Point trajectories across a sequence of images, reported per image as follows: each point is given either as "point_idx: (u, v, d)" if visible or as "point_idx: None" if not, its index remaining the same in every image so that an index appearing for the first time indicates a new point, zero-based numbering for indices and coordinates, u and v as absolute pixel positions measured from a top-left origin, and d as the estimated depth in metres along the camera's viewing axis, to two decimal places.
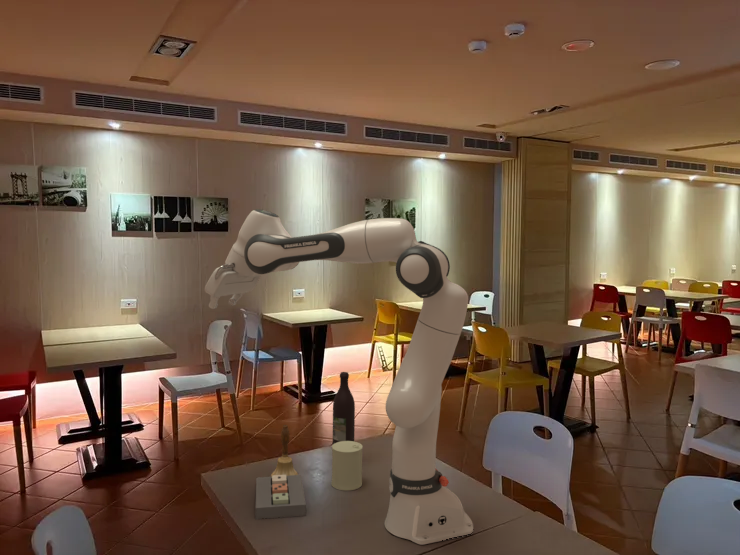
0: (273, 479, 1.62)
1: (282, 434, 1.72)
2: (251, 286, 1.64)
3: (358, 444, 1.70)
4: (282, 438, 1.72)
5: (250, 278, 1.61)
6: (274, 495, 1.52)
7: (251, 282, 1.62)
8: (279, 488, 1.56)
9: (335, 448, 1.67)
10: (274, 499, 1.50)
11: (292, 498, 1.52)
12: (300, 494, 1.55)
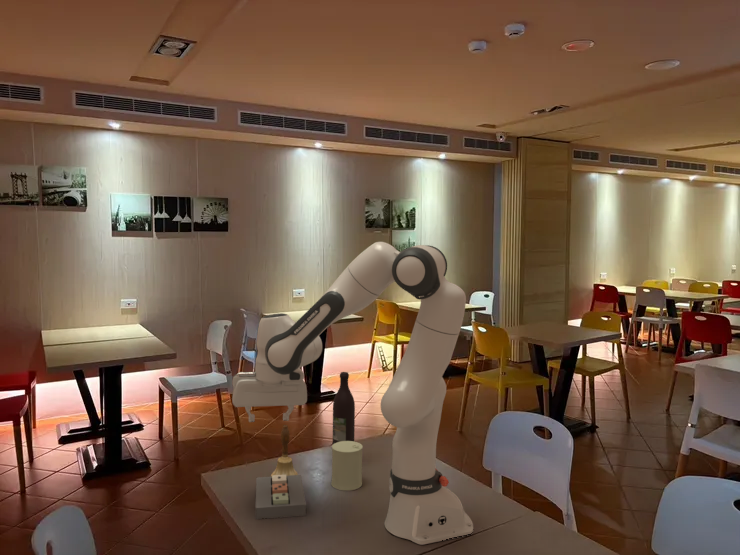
0: (273, 479, 1.62)
1: (282, 434, 1.72)
2: (298, 398, 1.57)
3: (358, 444, 1.70)
4: (282, 438, 1.72)
5: (291, 388, 1.56)
6: (274, 495, 1.52)
7: (294, 392, 1.56)
8: (279, 488, 1.56)
9: (335, 448, 1.67)
10: (274, 499, 1.50)
11: (292, 498, 1.52)
12: (300, 494, 1.55)
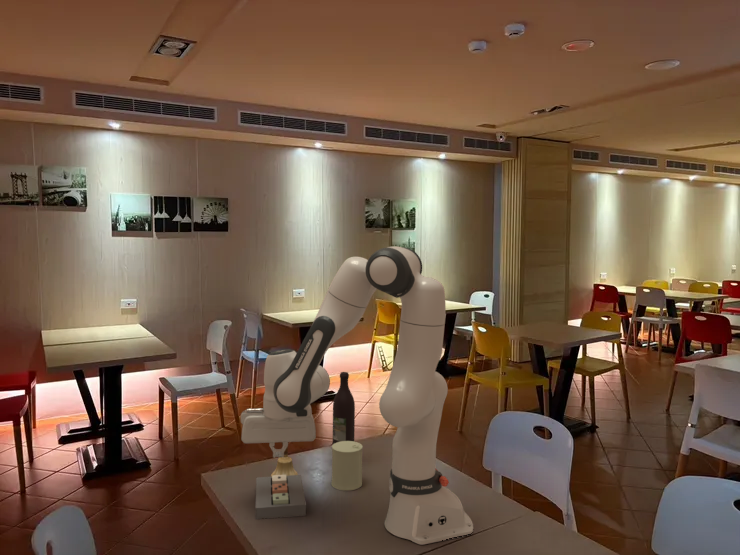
0: (273, 479, 1.62)
1: None
2: (306, 434, 1.56)
3: (358, 444, 1.70)
4: None
5: (299, 424, 1.56)
6: (274, 495, 1.52)
7: (302, 428, 1.56)
8: (279, 488, 1.56)
9: (335, 448, 1.67)
10: (274, 499, 1.50)
11: (292, 498, 1.52)
12: (300, 494, 1.55)
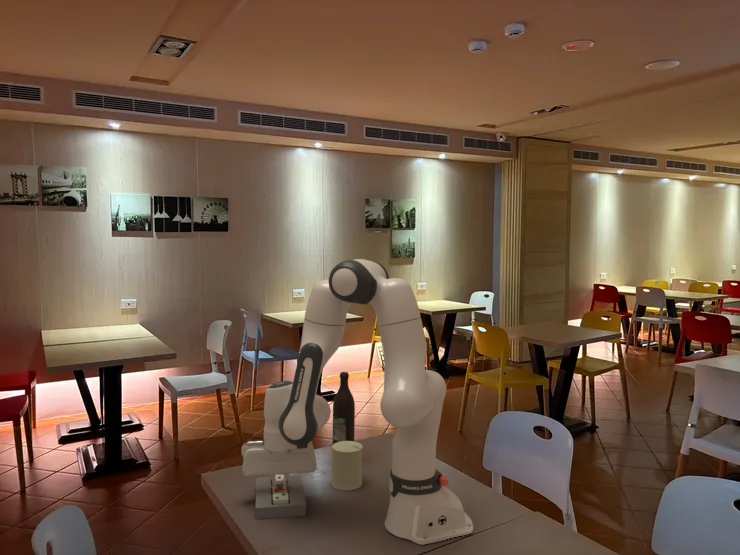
0: None
1: None
2: (307, 465, 1.57)
3: (358, 444, 1.70)
4: None
5: (299, 456, 1.56)
6: (274, 495, 1.52)
7: (303, 460, 1.56)
8: (279, 491, 1.56)
9: (335, 448, 1.67)
10: (274, 499, 1.50)
11: (292, 498, 1.52)
12: (300, 494, 1.55)
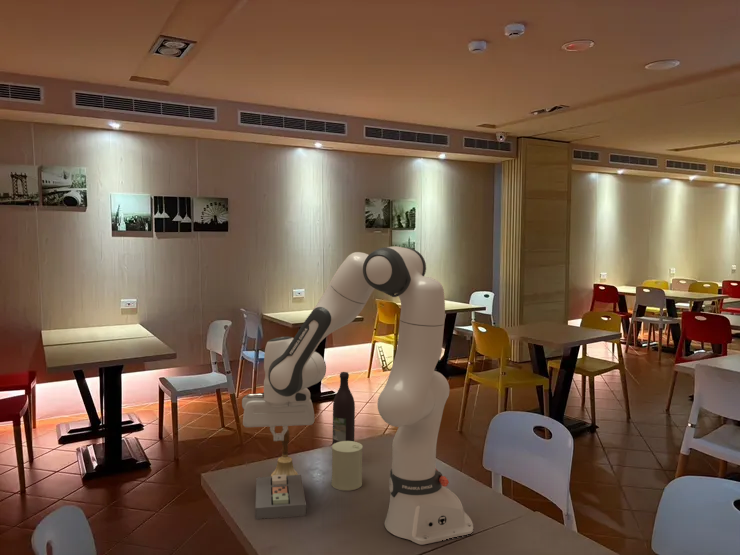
0: (273, 479, 1.62)
1: None
2: (305, 418, 1.62)
3: (358, 444, 1.70)
4: None
5: (298, 408, 1.61)
6: (274, 495, 1.52)
7: (301, 412, 1.61)
8: (279, 491, 1.56)
9: (335, 448, 1.67)
10: (274, 499, 1.50)
11: (292, 498, 1.52)
12: (300, 494, 1.55)
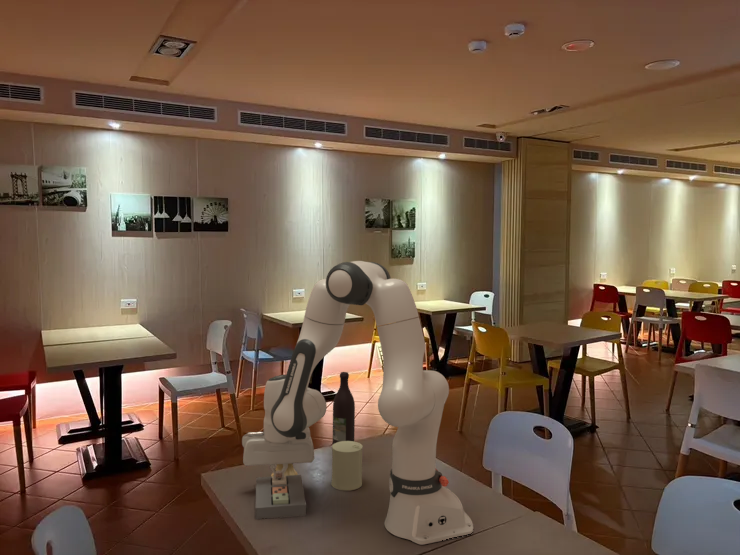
0: (273, 480, 1.62)
1: None
2: (305, 456, 1.62)
3: (358, 444, 1.70)
4: None
5: (298, 446, 1.62)
6: (274, 495, 1.52)
7: (301, 450, 1.62)
8: (279, 491, 1.56)
9: (335, 448, 1.67)
10: (274, 499, 1.50)
11: (292, 498, 1.52)
12: (300, 494, 1.55)
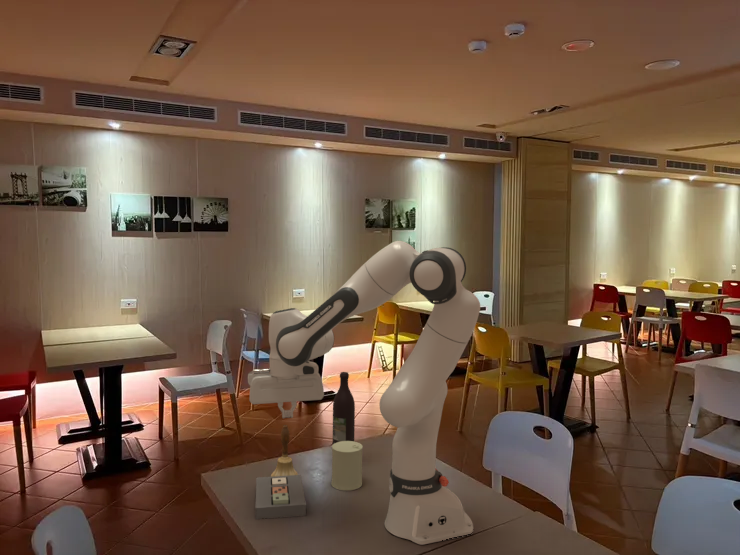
0: (273, 482, 1.62)
1: (282, 434, 1.72)
2: (314, 392, 1.55)
3: (358, 444, 1.70)
4: (282, 438, 1.72)
5: (306, 383, 1.55)
6: (274, 495, 1.52)
7: (310, 387, 1.55)
8: (279, 491, 1.56)
9: (335, 448, 1.67)
10: (274, 499, 1.50)
11: (292, 498, 1.52)
12: (300, 494, 1.55)
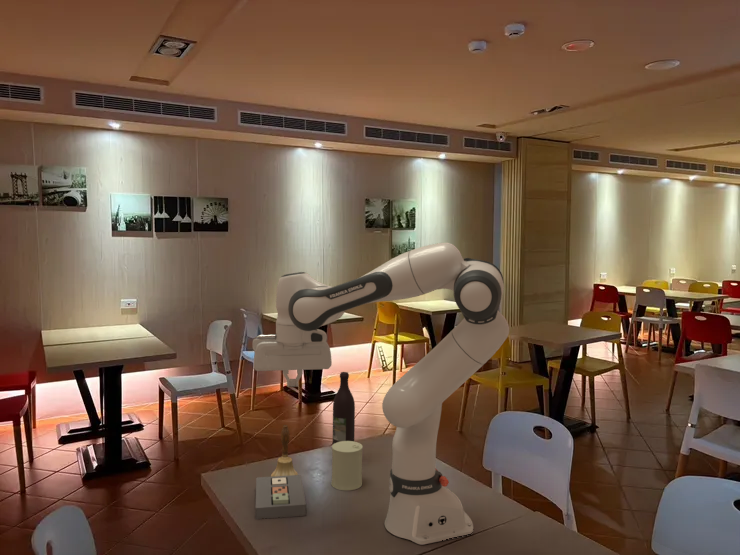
0: (273, 482, 1.62)
1: (282, 434, 1.72)
2: (321, 361, 1.48)
3: (358, 444, 1.70)
4: (282, 438, 1.72)
5: (314, 351, 1.48)
6: (274, 495, 1.52)
7: (317, 355, 1.48)
8: (279, 491, 1.56)
9: (335, 448, 1.67)
10: (274, 499, 1.50)
11: (292, 498, 1.52)
12: (300, 494, 1.55)
